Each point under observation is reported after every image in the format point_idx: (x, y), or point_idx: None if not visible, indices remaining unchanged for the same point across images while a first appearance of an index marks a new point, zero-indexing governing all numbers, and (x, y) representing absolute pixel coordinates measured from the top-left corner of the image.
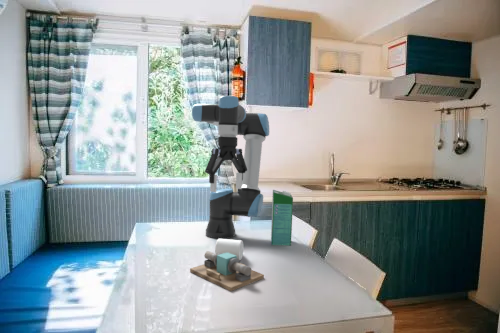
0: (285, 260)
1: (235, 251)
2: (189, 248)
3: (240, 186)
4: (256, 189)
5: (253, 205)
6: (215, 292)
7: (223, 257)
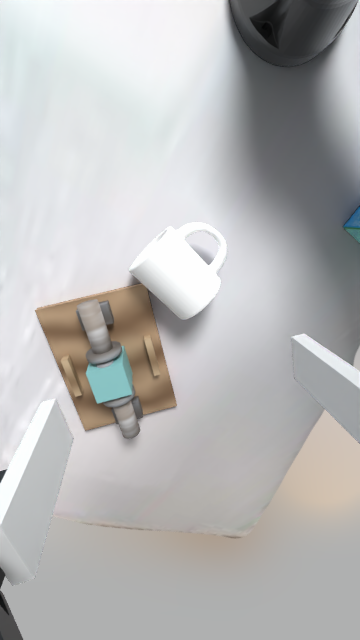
0: (281, 342)
1: (173, 312)
2: (98, 109)
3: (304, 388)
4: None
5: None
6: None
7: (94, 392)
